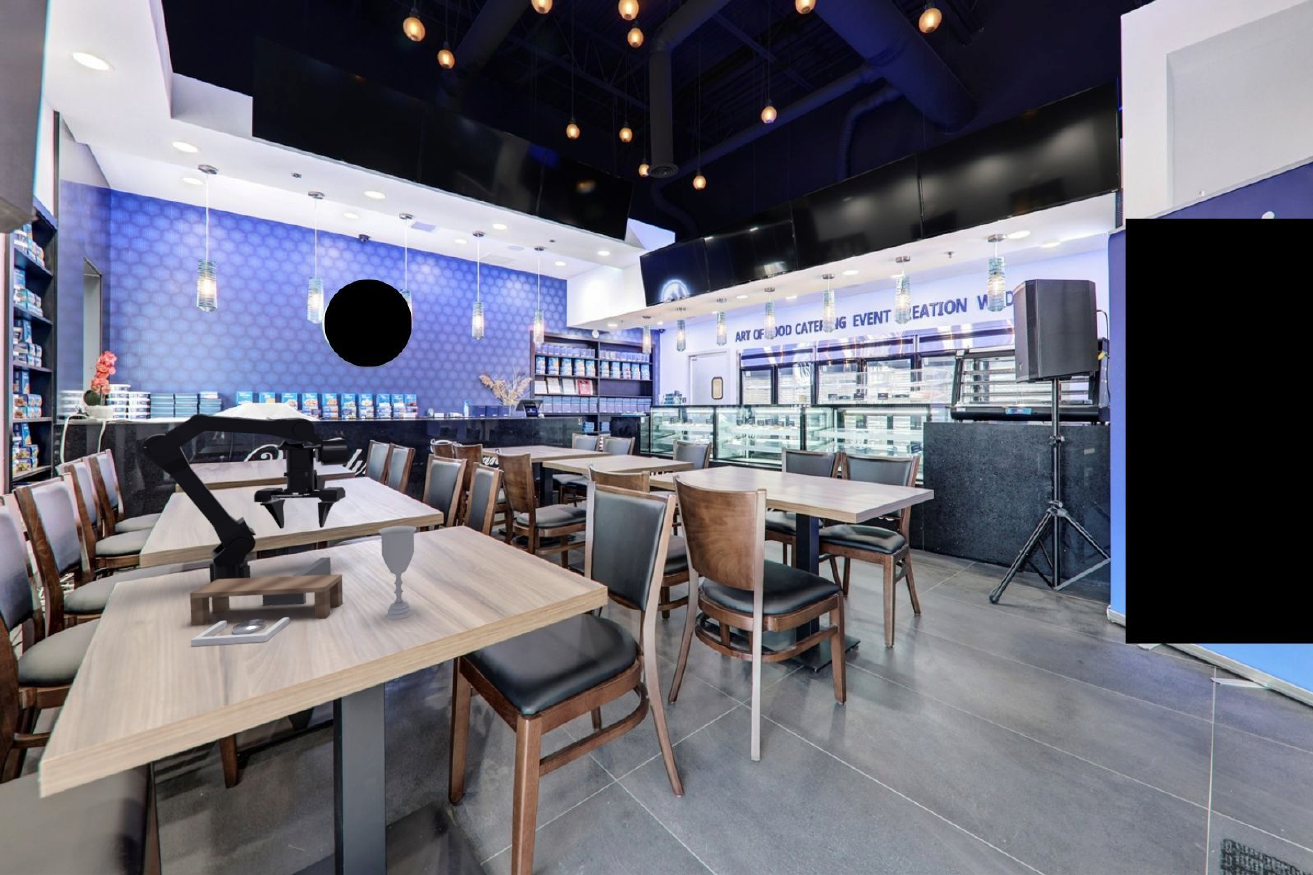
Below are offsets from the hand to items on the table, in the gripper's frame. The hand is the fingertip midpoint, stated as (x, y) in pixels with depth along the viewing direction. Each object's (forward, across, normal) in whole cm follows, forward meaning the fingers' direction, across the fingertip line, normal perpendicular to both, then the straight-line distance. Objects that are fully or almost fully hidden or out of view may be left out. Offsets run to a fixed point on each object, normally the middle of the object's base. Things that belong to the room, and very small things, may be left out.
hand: (302, 527), depth 129 cm
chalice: (+12, -32, +30) cm, 45 cm away
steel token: (+12, -6, +33) cm, 36 cm away
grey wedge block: (+12, -6, +10) cm, 17 cm away
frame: (+12, -6, +35) cm, 37 cm away
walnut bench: (+12, -6, +26) cm, 29 cm away
